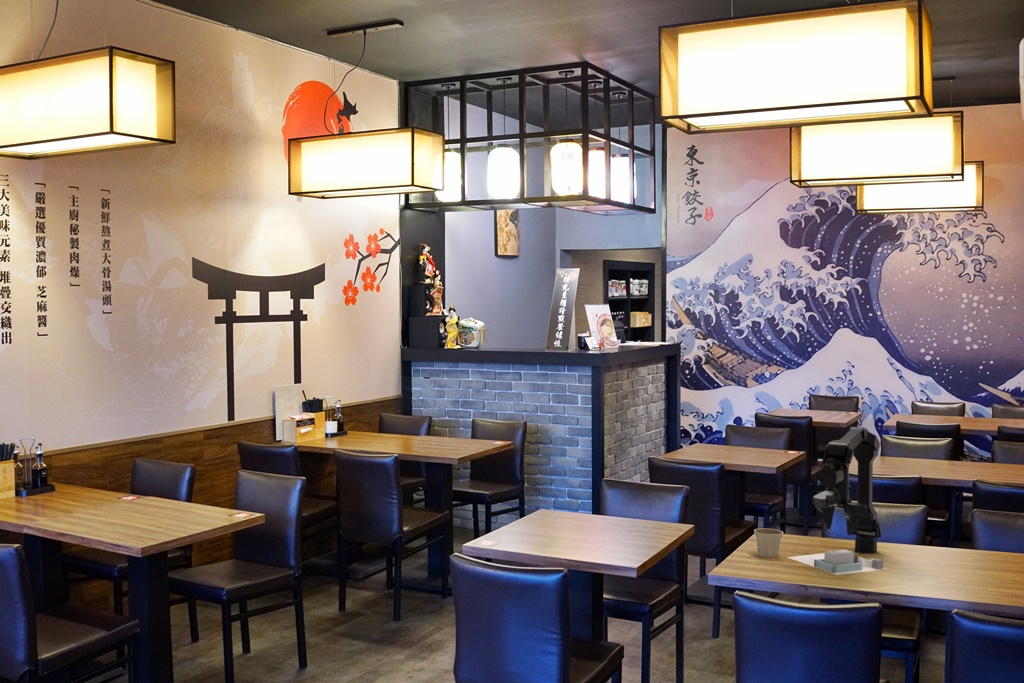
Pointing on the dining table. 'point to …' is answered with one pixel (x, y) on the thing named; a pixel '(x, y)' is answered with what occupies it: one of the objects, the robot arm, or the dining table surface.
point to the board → (810, 558)
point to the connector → (840, 557)
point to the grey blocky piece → (877, 564)
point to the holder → (837, 566)
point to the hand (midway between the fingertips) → (838, 532)
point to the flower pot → (768, 542)
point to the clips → (866, 562)
